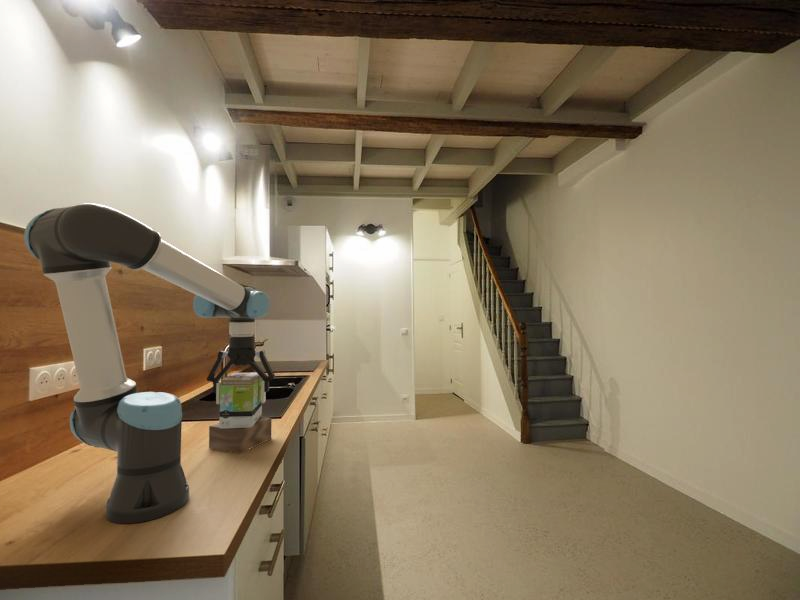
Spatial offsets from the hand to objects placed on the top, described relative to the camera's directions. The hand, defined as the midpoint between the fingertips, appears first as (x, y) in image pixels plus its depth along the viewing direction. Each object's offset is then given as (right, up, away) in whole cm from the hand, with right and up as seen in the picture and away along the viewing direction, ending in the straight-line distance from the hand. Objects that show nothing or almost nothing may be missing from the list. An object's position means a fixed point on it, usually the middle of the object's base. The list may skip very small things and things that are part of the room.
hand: (241, 402), depth 125 cm
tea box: (0, -6, 0) cm, 6 cm away
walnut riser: (0, -13, 0) cm, 13 cm away
